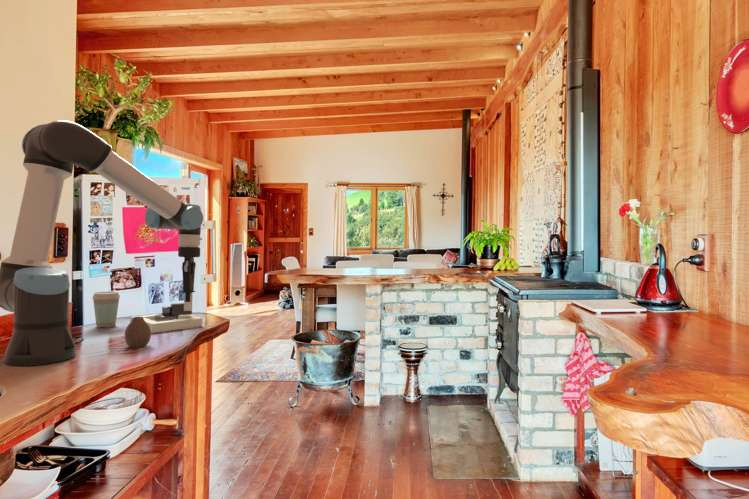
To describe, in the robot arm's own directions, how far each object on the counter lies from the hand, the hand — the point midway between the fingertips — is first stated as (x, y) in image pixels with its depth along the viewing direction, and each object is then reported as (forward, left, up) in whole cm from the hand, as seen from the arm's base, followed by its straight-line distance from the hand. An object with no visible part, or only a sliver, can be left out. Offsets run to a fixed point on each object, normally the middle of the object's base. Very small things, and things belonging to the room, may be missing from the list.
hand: (188, 310), depth 170 cm
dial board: (-6, +4, -6) cm, 9 cm away
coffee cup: (-22, +16, -6) cm, 28 cm away
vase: (-26, -21, -6) cm, 34 cm away
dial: (-4, +3, -4) cm, 6 cm away
